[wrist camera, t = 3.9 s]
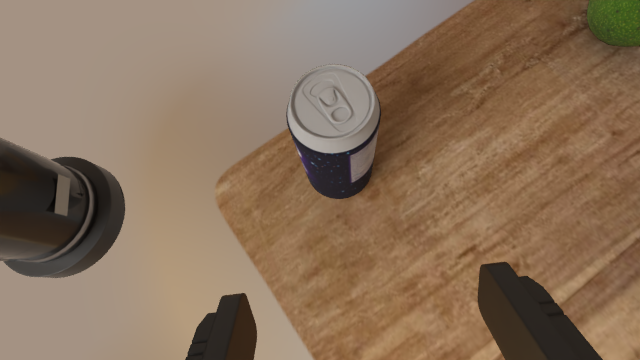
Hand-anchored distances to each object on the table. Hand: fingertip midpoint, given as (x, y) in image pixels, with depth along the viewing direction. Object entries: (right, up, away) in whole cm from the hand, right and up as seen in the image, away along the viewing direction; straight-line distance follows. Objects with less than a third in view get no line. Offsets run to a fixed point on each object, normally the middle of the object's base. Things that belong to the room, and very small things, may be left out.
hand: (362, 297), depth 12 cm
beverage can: (0, +5, +19) cm, 20 cm away
